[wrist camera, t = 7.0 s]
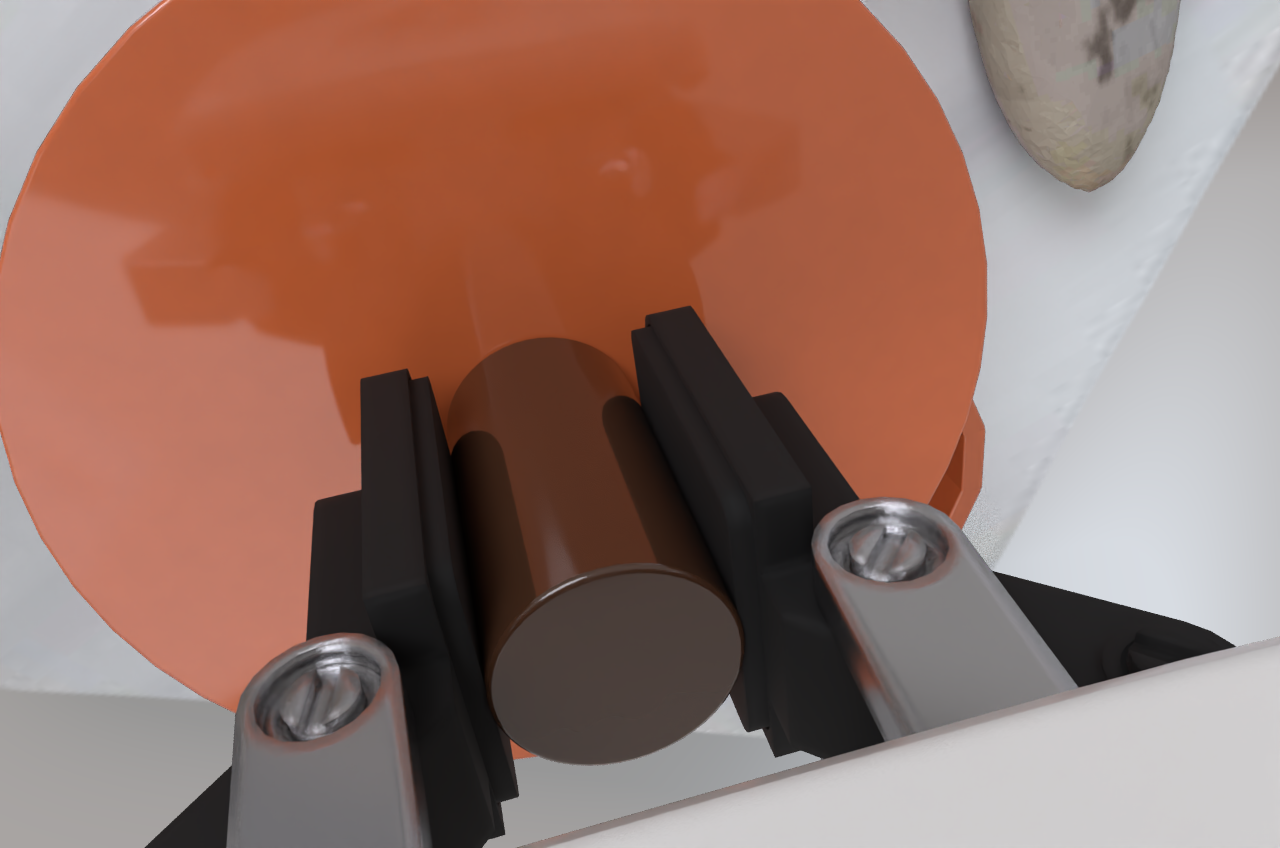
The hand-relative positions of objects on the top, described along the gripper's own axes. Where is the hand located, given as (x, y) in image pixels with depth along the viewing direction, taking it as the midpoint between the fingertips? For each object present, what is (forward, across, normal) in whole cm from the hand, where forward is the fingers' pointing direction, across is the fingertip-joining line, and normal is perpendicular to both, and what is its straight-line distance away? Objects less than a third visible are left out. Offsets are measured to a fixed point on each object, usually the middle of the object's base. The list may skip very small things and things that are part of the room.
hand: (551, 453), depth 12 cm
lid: (+1, 0, 0) cm, 1 cm away
